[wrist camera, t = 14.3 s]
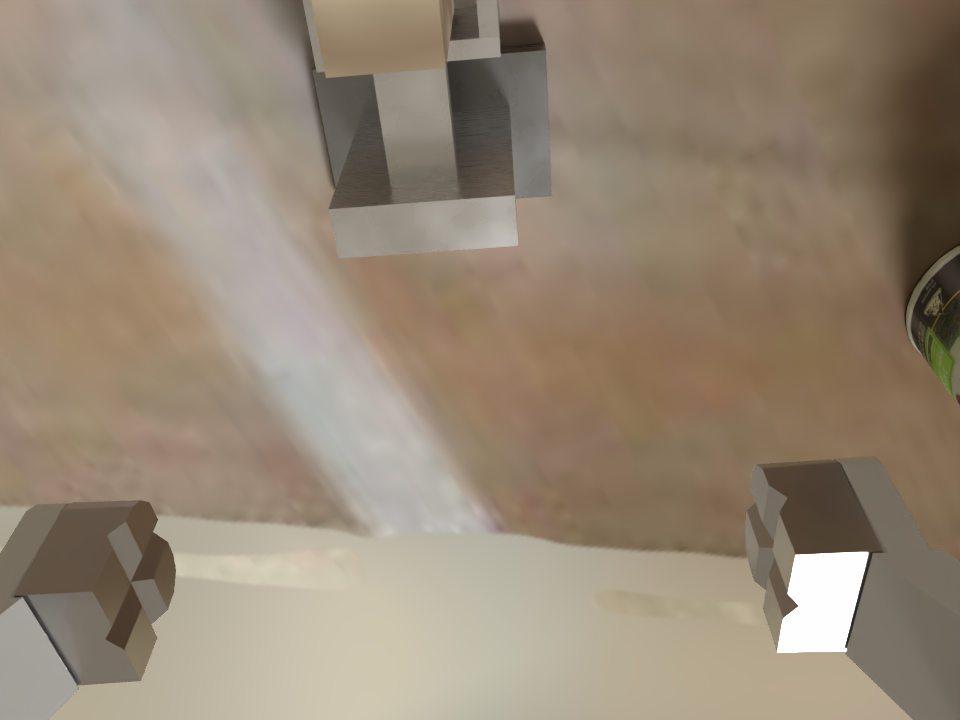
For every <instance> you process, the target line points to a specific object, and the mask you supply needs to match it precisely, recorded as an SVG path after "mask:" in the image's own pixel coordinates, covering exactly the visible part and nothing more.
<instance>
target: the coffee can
mask: <svg viewBox="0 0 960 720" xmlns="http://www.w3.org/2000/svg"><path fill="white" fill-rule="evenodd" d="M906 327H907V332H908V336H909V338H910V340H911V342H912V344H913V345H914V347H915V348H916V349H917V350H918V351H919V352H920V353H921V354H922V355H923V357H924V358H925V360H926V361H927V362H928V364H929V365H930V367H931V368H932V370H933V371H934V372H935V374H936V375H937V376H938V378H939V379H940V380H941V382H942V383H943V385H944V386H945V387H946V389H947V390H948V392H949V393H950V394H951V396H952V397H953V399H954V400H955V401H956V403H957V404H958V406H959V407H960V245H959V246H957V247H956V248H954V249H952V250H951V251H949V252H948V253H947V254H945V255H944V256H943V257H941V258H940V259H939V260H938V261H937V262H936V263H935V264H934V265H933V266H932V267H931V268H930V269H929V270H928V271H927V272H926V273H925V274H924V276H923V277H922V278H921V280H920V281H919V282H918V284H917V285H916V287H915V289H914V291H913V293H912V295H911V298H910V301H909V304H908V307H907V313H906Z"/></svg>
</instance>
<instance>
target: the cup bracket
mask: <svg viewBox="0 0 960 720" xmlns="http://www.w3.org/2000/svg"><path fill="white" fill-rule="evenodd" d="M303 5H304V10H305V15H306V20H307V25H308V31H309V36H310V41H311V46H312V51H313V56H314V61H315V66H314V68H313V69H312V72H313V77H314V82H315V87H316V92H317V97H318V102H319V107H320V112H321V117H322V122H323V127H324V132H325V137H326V142H327V147H328V152H329V157H330V162H331V167H332V172H333V177H334V182H335V187H336V189H335V192H334V195H333V197H332V200H331V203H330V206H329V209H328V210H329V215H330V220H331V225H332V229H333V234H334V239H335V244H336V249H337V253H338V258H352V257H366V256H380V255H394V254H408V253H422V252H436V251H450V250H464V249H478V248H492V247H506V246H518V235H517V217H516V199H517V198H531V197H544V196H552V193H551V168H550V143H549V118H548V93H547V68H546V49H545V44H533V45H521V46H510V47H500V20H499V5H498V0H455V7H454V14H453V21H452V28H451V35H450V43H449V50H448V57H447V64H446V68H441V69H429V70H417V71H404V72H392V73H380V74H368V75H356V76H344V77H332V78H326V75H325V70H324V65H323V60H322V54H321V49H320V44H319V38H318V33H317V28H316V23H315V17H314V12H313V7H312V1H311V0H303Z"/></svg>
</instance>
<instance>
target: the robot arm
mask: <svg viewBox="0 0 960 720" xmlns="http://www.w3.org/2000/svg"><path fill="white" fill-rule="evenodd" d="M750 487H751V490H752V493H753V496H754V499H755V503H754V504H753V505H752V506H751V507H750V508H749V509H748V510H747V514H746V524H745V537H746V551H747V555H748V560H749V565H750V568H751V571H752V575H753V578H754V581H755V582H757V583H758V584H759V585H760V586H762V587H763V588H764V589H765V590H766V594H765V600H764V607H763V610H764V613H765V616H766V619H767V622H768V625H769V628H770V631H771V634H772V637H773V640H774V643H775V646H776V649H777V652H809V651H810V652H813V651H846V655H847V656H848V657H849V658H850V659H851V660H852V661H853V662H854V663H855V664H856V665H857V666H858V667H859V668H860V669H861V670H862V671H863V672H865V674H867V675H868V676H869V677H870V678H871V679H872V680H873V681H874V682H875V683H876V684H877V685H878V686H879V687H880V688H881V689H882V690H883V691H884V692H885V693H886V694H887V695H888V696H889V697H890V698H891V699H892V700H893V701H894V702H895V703H896V704H898V705H899V706H900V708H902V709H903V710H904V711H905V712H906V713H907V714H908V715H909V716H910V717H911V718H912V719H913V720H960V561H959V560H958V559H956V558H955V557H953V556H951V555H950V554H948V553H947V552H945V551H944V550H930V548H929V546H928V545H927V543H926V541H925V539H924V537H923V536H922V534H921V532H920V530H919V529H918V527H917V525H916V523H915V521H914V520H913V518H912V516H911V514H910V513H909V511H908V509H907V507H906V505H905V504H904V502H903V500H902V498H901V497H900V495H899V493H898V491H897V489H896V488H895V486H894V484H893V482H892V481H891V479H890V477H889V475H888V473H887V472H886V470H885V468H884V466H883V465H882V463H881V461H880V460H878V459H877V458H876V457H874V456H869V457H855V458H841V459H834V460H815V461H800V462H785V463H770V464H756V465H755V467H754V470H753V472H752V477H751V484H750ZM157 521H158V519H157V517H156V515H155V513H154V511H153V509H152V507H151V505H150V503H149V502H145V501H141V500H134V501H104V502H74V503H70V504H37V505H35V506H34V507H32V508H31V509H29V510H28V511H26V513H25V514H24V516H23V517H22V519H21V521H20V522H19V524H18V526H17V527H16V529H15V530H14V532H13V534H12V535H11V537H10V538H9V540H8V542H7V544H6V545H5V547H4V548H3V550H2V551H1V553H0V720H50V719H51V717H52V716H54V714H55V713H56V712H57V711H58V710H59V709H60V708H61V707H62V706H63V705H64V704H65V703H66V702H67V701H68V700H69V699H70V698H71V697H72V696H73V695H74V693H75V692H76V691H77V690H78V689H79V687H78V686H77V685H90V684H104V683H116V682H131V681H141V679H142V676H143V674H144V671H145V669H146V666H147V663H148V661H149V658H150V655H151V653H152V650H153V648H154V645H155V642H156V640H157V636H156V634H155V632H154V629H153V628H152V625H151V624H152V623H153V622H155V621H156V620H157V619H158V618H159V617H160V616H161V615H162V614H164V613H165V612H166V611H167V610H168V607H169V604H170V602H171V598H172V596H173V593H174V586H175V575H176V568H175V563H174V557H173V553H172V551H171V548H170V546H169V544H168V542H167V541H165V540H164V539H162V538H161V537H159V536H158V535H157V534H155V533H153V530H154V528H155V526H156V523H157Z"/></svg>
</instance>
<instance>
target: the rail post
mask: <svg viewBox="0 0 960 720" xmlns="http://www.w3.org/2000/svg"><path fill="white" fill-rule="evenodd" d="M311 1H312V7H313V12H314V17H315V23H316V28H317V33H318V38H319V44H320V49H321V54H322V60H323V65H324V70H325V75H326V78H332V77H344V76H356V75H368V74H380V73H392V72H404V71H417V70H429V69H441V68H446V64H447V57H448V50H449V43H450V35H451V28H452V21H453V14H454V7H455V0H311Z"/></svg>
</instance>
